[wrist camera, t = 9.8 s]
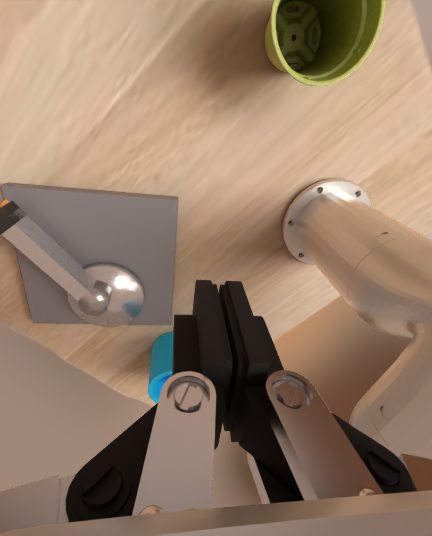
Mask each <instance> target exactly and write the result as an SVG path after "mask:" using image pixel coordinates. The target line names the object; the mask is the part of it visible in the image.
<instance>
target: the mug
mask: <svg viewBox="0 0 432 536" xmlns="http://www.w3.org/2000/svg"><path fill="white" fill-rule="evenodd" d="M172 359H173V332H171V333H166V334H164V335H162V336H160V337H159V338H158V339H157V340H156V341H155V342H154V344H153V346H152V355H151V365H150V376H149V386H148V393H149V396H150V398H151V399H152V400H153V401H154V402H156V403H158V402H159V398H160V394H161V390H162V387H163V385H164V383H165V382H166V381H167V380H168V379H169V378H170V377H171V376H172Z"/></svg>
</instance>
